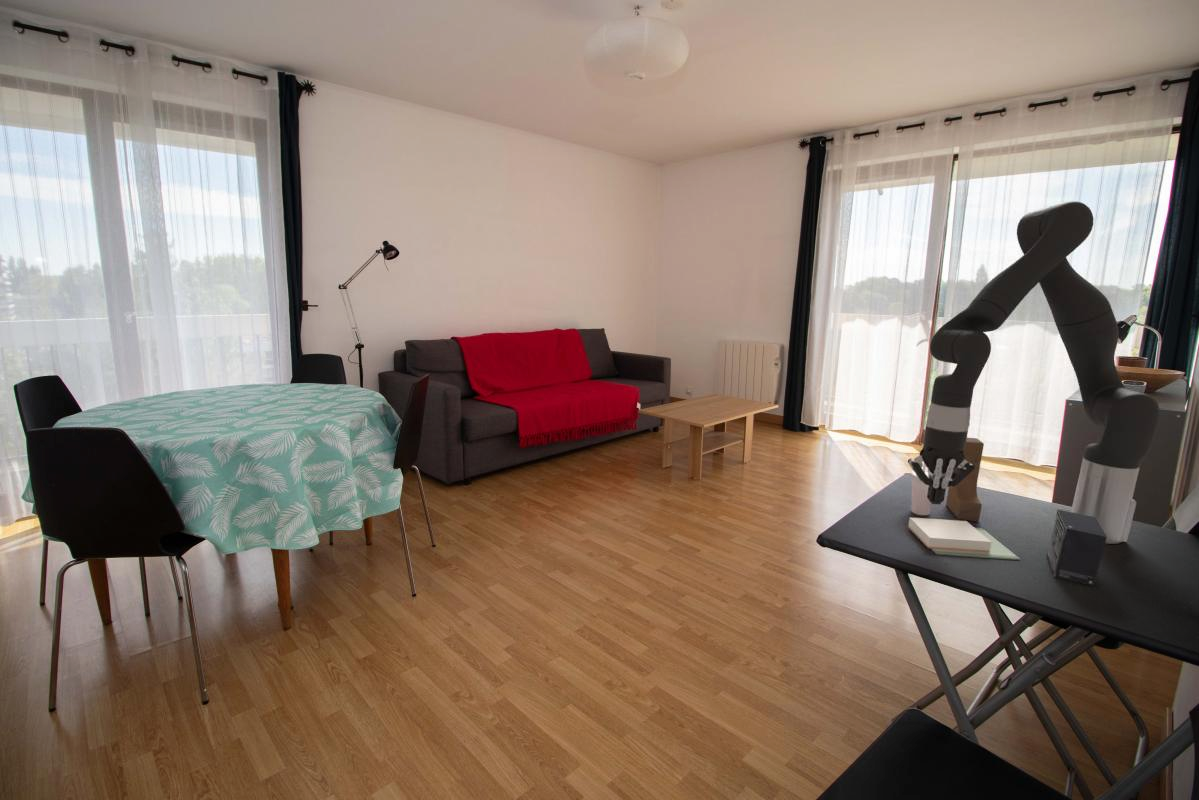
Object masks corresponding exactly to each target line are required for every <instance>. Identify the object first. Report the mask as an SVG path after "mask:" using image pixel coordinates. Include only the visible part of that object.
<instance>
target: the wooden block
mask: <svg viewBox="0 0 1199 800" xmlns="http://www.w3.org/2000/svg"><path fill="white" fill-rule="evenodd" d="M984 445H985V444H984V443H983V442H982V440H980V439H978V438H975V437H967V440H966V446H965V449H964V454H965V460H966V461H968V462H969V463H971V464H972V465H974V466H975V469H974V470H973V471H972V472H971V473H970V474H968V475H967V476H966V477H965V478H964V479H963V480H962V481H961V482H960V483H958V484H957V485H956V486H949V487H948V488H947V490H948V491H947V496H946V502H945V505H946V506H947V508H948V509H949V510H950V511H951V513H953V515H954V516H955V517H956V518H957V520H960V521H972V522H979V521H980V517H981V511H982V506H983V504H982V502H981V501H980V499H979V497H978V481H979V475H980V468H981V463H982V458H983V450H984ZM957 468H958V467H957ZM957 468H956V469H957ZM956 469H955V470H956ZM955 470H954V471H955Z"/></svg>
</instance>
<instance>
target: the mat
mask: <svg viewBox="0 0 1199 800" xmlns="http://www.w3.org/2000/svg"><path fill="white" fill-rule="evenodd" d="M907 526H909V523H907ZM974 528H975V529H977V530H978V531H979V532H980V533H981V534H983V535H984V536H985V537H986V538H987V539H989V540H990V541H991V547H990V552H976V551H961V550H946V549H932V548H930V550H931V551H933V553H935V555H941V556H950V557H951V556H952V557H953V556H954V557H955V556H956V557H968V558H969V557H970V558H983V559H996V560H997V559H998V560H1014V561H1020V560H1021V558H1020V557H1019V556H1017V555H1016V554H1014V552H1012V551H1011V550H1009V548H1007V547H1006V546H1005V545H1003V544H1002V543H1001V542H1000V541H999V540H997V539H996V538H995V537H993V536H992V535H991V534H990V533H989V532H987V531H986V530H985V529H984V528H983V527H982V528H981V527H974Z"/></svg>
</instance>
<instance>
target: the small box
mask: <svg viewBox="0 0 1199 800" xmlns="http://www.w3.org/2000/svg"><path fill="white" fill-rule="evenodd" d="M1106 538H1107V536H1106V534H1105V532H1104V531H1103V529H1102V527H1101V526H1100V524H1099V522H1098V521H1097V519H1096V517H1092V516H1087V515H1082V514H1077V513H1073V512H1071V511H1067V510H1062V509H1056V515H1055V521H1054V525H1053V530H1052V535H1051V538H1050V542H1049V545H1048V549H1047V553H1046V558H1047V560H1048V561H1047V562H1048V564H1049V566H1050V570H1051V573H1052V576H1053V577H1054V578H1057V579H1061V580H1066V581H1070V582H1075V583H1078V584H1083V585H1086V586H1091V587H1095V583H1096V580H1097V576H1098V573H1099V568H1100V565H1101V560H1102V558H1103V552H1104V549H1105V545H1106V543H1105V542H1106Z"/></svg>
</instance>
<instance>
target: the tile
mask: <svg viewBox="0 0 1199 800" xmlns="http://www.w3.org/2000/svg"><path fill="white" fill-rule="evenodd" d="M908 524H909V525H907V526H908V529H909V530H910V531H911V532H912V534H914V535H915V537H917V538H918V539H919V540H920V541H921V542H922V543H923V545H924V546H925V547H926V548H927V549H931V548H932V549H946V550H961V551H976V552H990V547H991V541H990V540H989V539H987V538H986V537H985V536H984V535H983V534H981V533H980V532H979V531H978V530H977V529H975V528H976V527H974V526H973V525H972V524H971V523H969V522H968V520H959V519H939V518H927V517H926V518H922V517H909V519H908ZM932 549H931V550H932Z"/></svg>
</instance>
